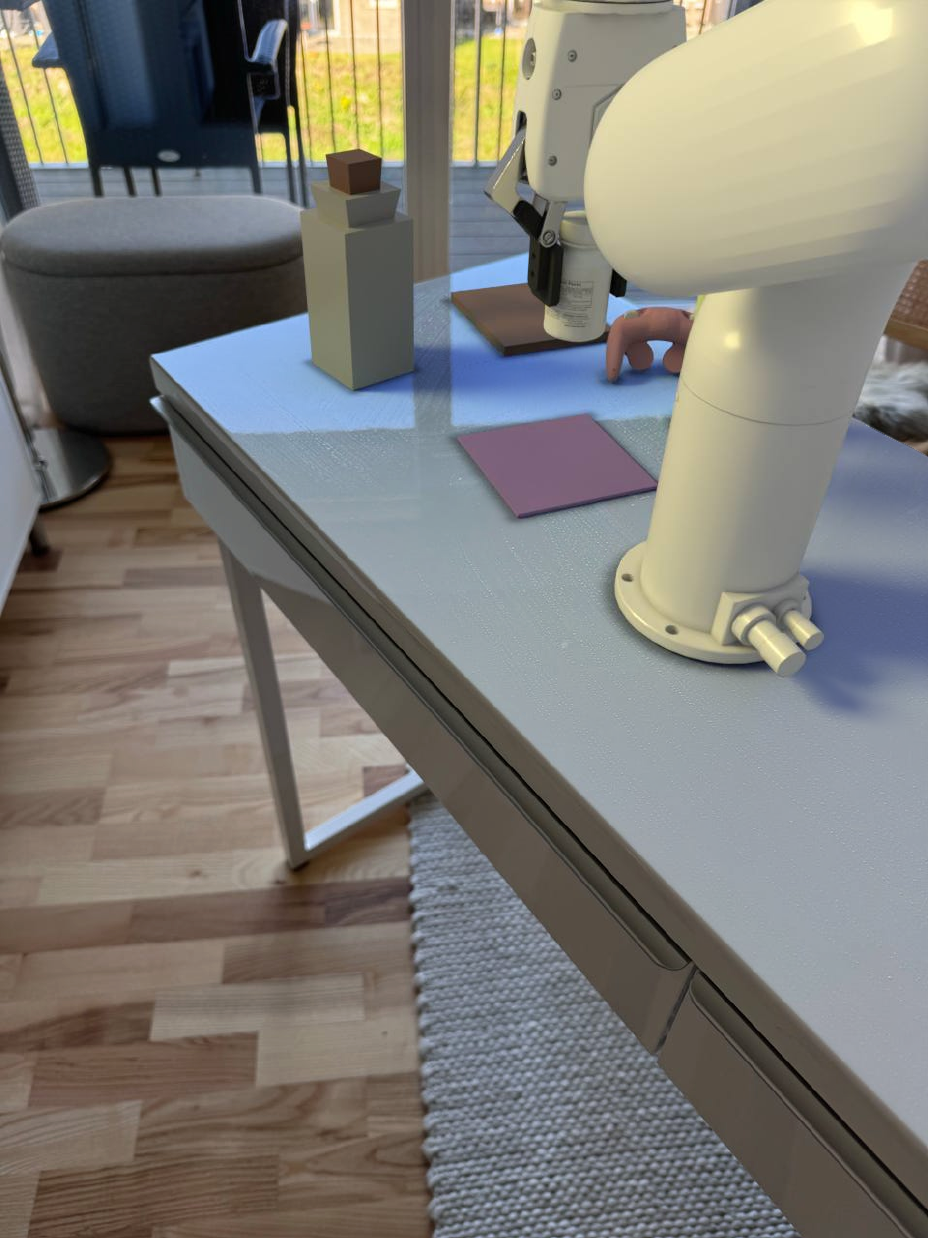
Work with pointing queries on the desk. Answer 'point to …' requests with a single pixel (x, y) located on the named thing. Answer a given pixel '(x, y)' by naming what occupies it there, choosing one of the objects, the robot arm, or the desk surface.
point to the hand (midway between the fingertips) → (577, 292)
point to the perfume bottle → (359, 273)
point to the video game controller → (647, 338)
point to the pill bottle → (580, 284)
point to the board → (511, 319)
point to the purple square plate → (555, 464)
